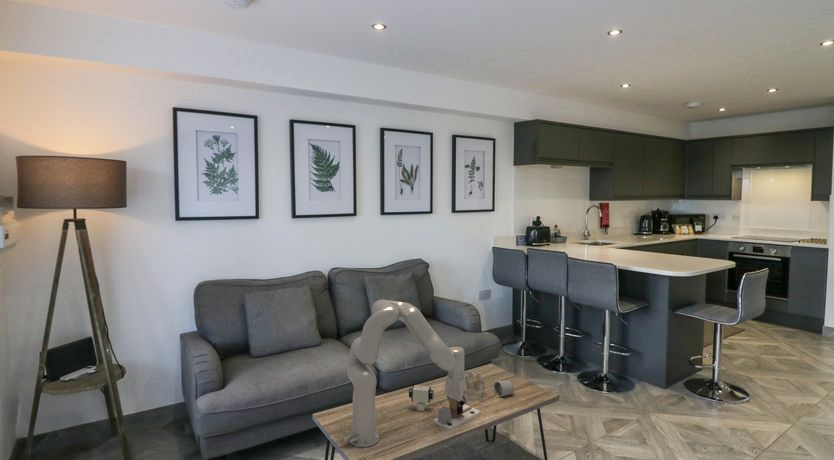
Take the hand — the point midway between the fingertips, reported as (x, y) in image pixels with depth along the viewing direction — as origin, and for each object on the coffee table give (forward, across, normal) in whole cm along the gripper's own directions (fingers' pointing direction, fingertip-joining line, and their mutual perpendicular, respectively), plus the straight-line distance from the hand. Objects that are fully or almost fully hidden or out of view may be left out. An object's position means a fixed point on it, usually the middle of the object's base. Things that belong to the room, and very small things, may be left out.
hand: (456, 411), depth 212 cm
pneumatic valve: (+3, -18, -5) cm, 19 cm away
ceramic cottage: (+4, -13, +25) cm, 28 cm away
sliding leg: (+1, +1, 0) cm, 2 cm away
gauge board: (+3, 0, +1) cm, 3 cm away
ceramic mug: (+4, -1, +37) cm, 37 cm away
